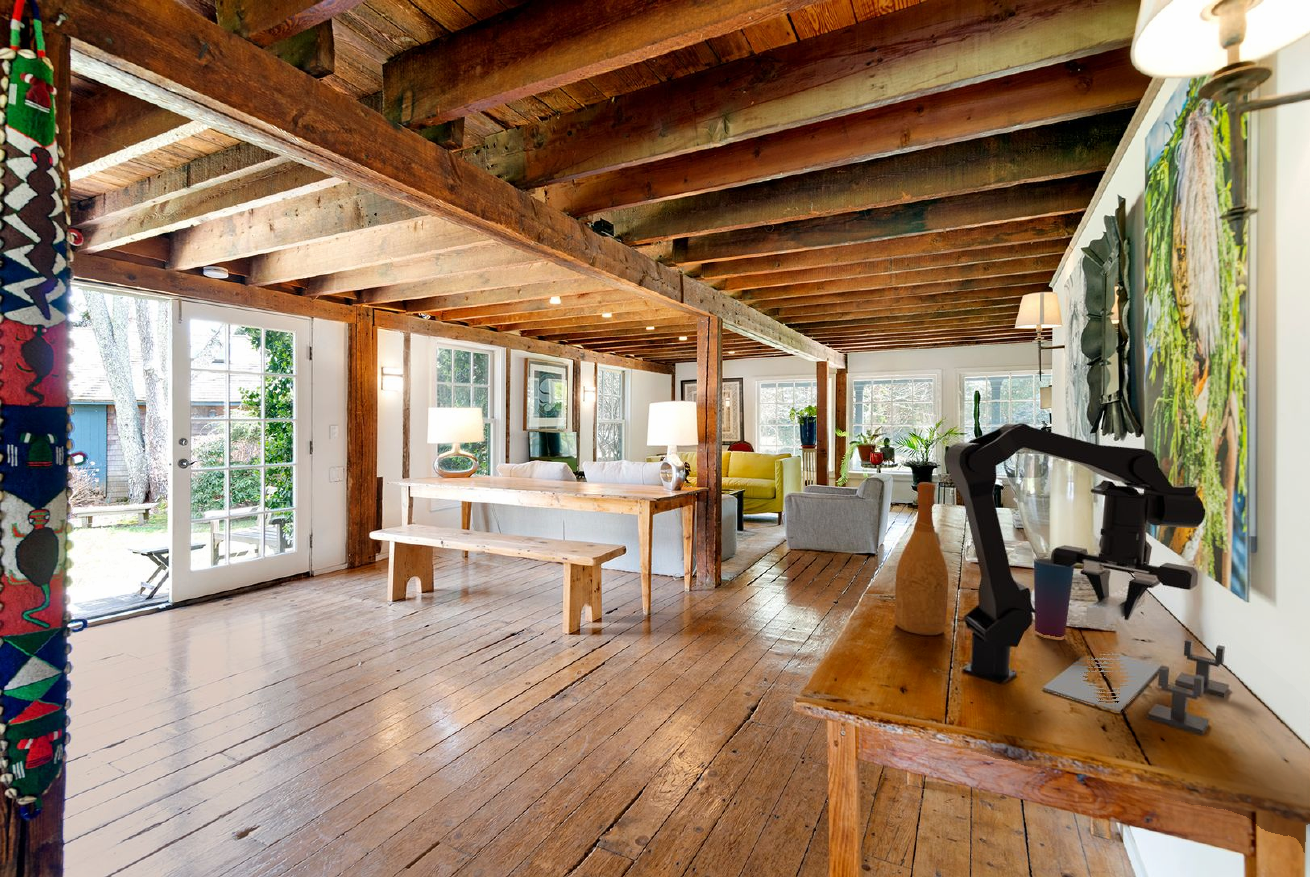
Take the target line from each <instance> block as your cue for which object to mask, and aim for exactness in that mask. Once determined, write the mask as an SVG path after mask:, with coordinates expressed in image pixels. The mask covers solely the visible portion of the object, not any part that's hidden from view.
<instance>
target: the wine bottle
mask: <svg viewBox="0 0 1310 877" xmlns="http://www.w3.org/2000/svg"><path fill="white" fill-rule="evenodd" d="M916 489H917V498H916V504H917V505H918V506H917V516H916V521H915V523H914V527H913V532H912V534H911V536H910V538H909V540H907V543H906V545H905V547H904V549H903V550H902V552H901V554H900V558H899V560H898V564H897V566H896V567H897V568H896V571H895V572H896V573H895V586H894V622H895V625H896V626H897V627H898V628H900V629H901V630H903V631H906V632H908V633H912V634H915V635H921V636H937V635H941V634H942V633H943V632H944V631H945V629H946V621H947V614H948V613H947V611H948V600H949V599H948V597H949V596H948V595H949V572H948V567H947V564H946V560H945V556H944V553H943V551H942V549H941V546H942V544H941V538H940V534H939V532H938V531H935V526H934V522H933V521H934V520H933V506H935V492H936V485H935V484H934V483H933V482H929V481H928V482H927V481H926V482H925V481H921V482H919V483H918V484H917V487H916Z"/></svg>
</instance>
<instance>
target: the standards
mask: <svg viewBox="0 0 1310 877" xmlns="http://www.w3.org/2000/svg"><path fill="white" fill-rule="evenodd" d="M1183 649H1184V650H1183V656H1184V657H1186V660H1189V661H1193V662H1196V664H1195V665H1196V667H1195V675H1193V674H1189V673H1186V672H1183V671H1182V672H1180V673H1179V675H1178V676H1177V677H1176V678H1175V680H1174V685H1173V684H1169V673H1170V667H1169V666H1165V665H1162V666H1161V667H1160V668H1159V671H1158V680H1157V686H1158V687H1161V691H1163V692H1164V691H1165V692H1168V693H1171V705H1170V707H1169V706H1165V705H1162V704H1158V703H1155V704H1154V706H1153V707H1152V708H1151V710H1150V711H1149V712H1147V719H1148V720H1151V721H1154V722H1157V723H1160V724H1164V725H1167V726H1170V727H1172V728H1176V729H1180V730H1183V731H1186V732H1189V733H1191V734H1196V735H1198V736H1204V734H1205V732H1206V730H1207V728H1208V727H1209V725H1210V719H1209V718H1206V717H1202V716H1199V715H1195V714H1193V713H1192V714H1191V713H1189V712H1187V708H1188V699H1192V700H1198V699H1199V698H1201V697H1202V696H1203V695H1204V694H1209V695H1211V696H1212V695H1213V696H1216V697H1218V698H1223V699H1225V697H1226V695H1227V693H1228V691H1229V690H1230V689H1229V688H1230V684H1229V683H1224V682H1220V681H1217V680H1213V679H1210V674H1211V673H1210V672H1211V671H1210V669H1211V666H1213V667H1217V668H1219V667H1220V666H1221V665H1223V664H1224V663H1225V649H1226V647H1225V646H1224V645H1218V644H1217V646H1216V649H1215V659H1214V658H1209V657H1205V656H1201V655H1197V654H1193V653H1194V652H1193V650H1194V639H1192V638H1188V637H1187V638H1186V639H1184V646H1183Z"/></svg>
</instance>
